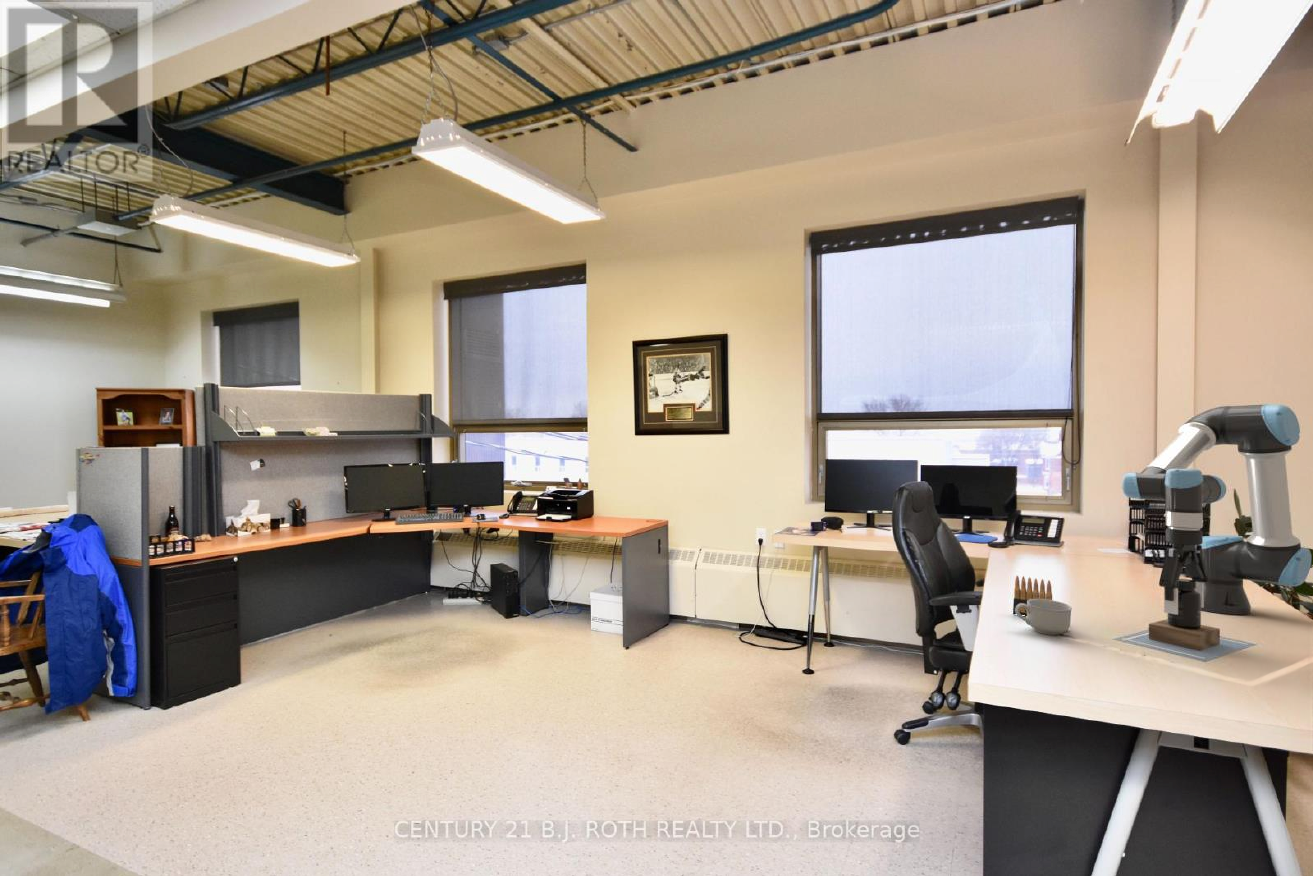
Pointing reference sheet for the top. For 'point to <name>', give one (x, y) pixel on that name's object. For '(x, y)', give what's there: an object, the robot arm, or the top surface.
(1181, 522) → the robot arm
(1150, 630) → the walnut plinth
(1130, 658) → the top surface
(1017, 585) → the ammunition clip
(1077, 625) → the top surface
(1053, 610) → the teacup
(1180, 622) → the supplement bottle
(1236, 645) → the board
